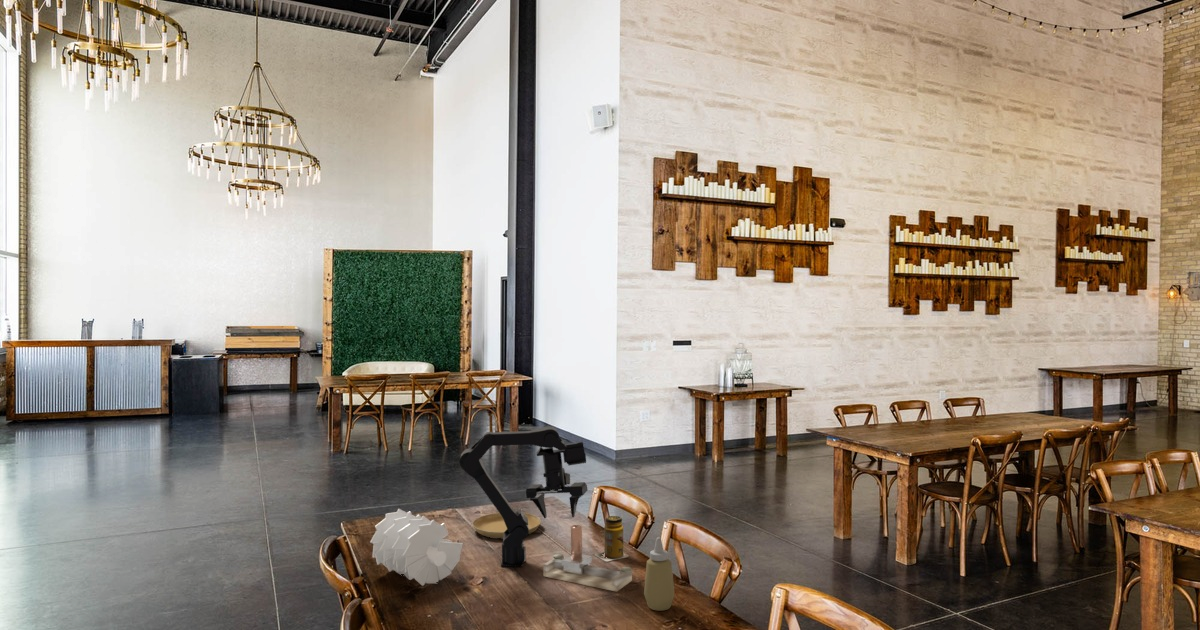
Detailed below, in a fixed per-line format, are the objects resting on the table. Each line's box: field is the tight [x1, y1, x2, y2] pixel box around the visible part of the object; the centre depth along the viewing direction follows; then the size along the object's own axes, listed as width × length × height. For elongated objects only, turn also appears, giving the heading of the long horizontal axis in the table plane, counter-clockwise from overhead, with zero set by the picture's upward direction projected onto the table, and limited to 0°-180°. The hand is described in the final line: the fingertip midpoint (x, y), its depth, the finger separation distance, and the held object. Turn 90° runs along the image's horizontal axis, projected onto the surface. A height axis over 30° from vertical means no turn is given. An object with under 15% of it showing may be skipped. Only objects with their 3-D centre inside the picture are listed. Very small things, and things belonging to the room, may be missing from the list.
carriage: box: [562, 524, 593, 575], centre depth 210 cm, size 6×7×13 cm
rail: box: [542, 553, 633, 592], centre depth 208 cm, size 26×9×4 cm, turn 60°
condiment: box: [593, 515, 629, 563], centre depth 227 cm, size 7×8×12 cm
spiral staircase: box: [369, 507, 464, 587], centre depth 212 cm, size 18×18×25 cm
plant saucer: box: [471, 512, 542, 540], centre depth 255 cm, size 24×24×3 cm
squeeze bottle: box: [643, 537, 675, 612], centre depth 188 cm, size 8×8×18 cm
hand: (559, 517), depth 223 cm, fingers open, 9 cm apart
